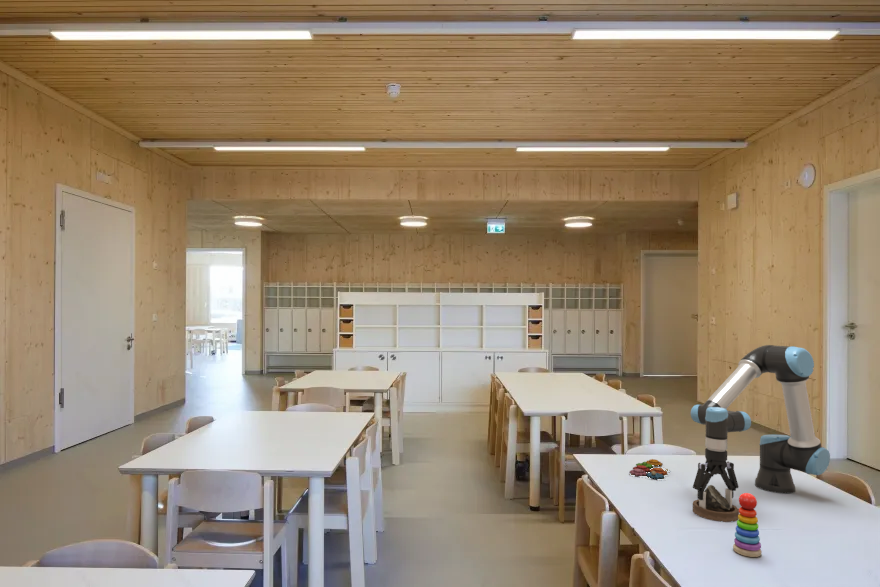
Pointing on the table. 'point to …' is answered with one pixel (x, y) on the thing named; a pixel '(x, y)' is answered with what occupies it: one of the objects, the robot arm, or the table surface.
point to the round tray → (716, 513)
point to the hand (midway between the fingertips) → (715, 507)
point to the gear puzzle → (646, 466)
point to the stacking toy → (747, 528)
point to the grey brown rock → (715, 499)
